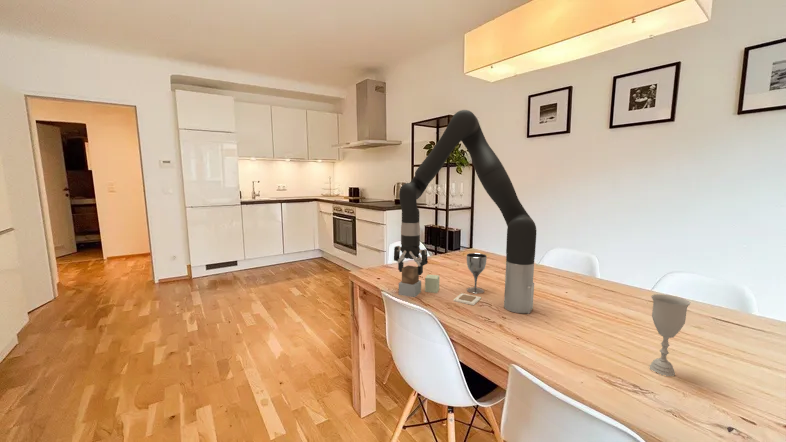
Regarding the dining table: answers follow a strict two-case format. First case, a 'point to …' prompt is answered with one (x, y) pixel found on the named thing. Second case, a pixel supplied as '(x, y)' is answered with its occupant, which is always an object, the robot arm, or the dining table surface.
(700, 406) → the dining table surface
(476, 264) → the wine glass
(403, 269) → the walnut block
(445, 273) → the dining table surface
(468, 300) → the tile
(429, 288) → the sage block
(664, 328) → the chalice
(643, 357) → the dining table surface
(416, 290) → the grey base block
